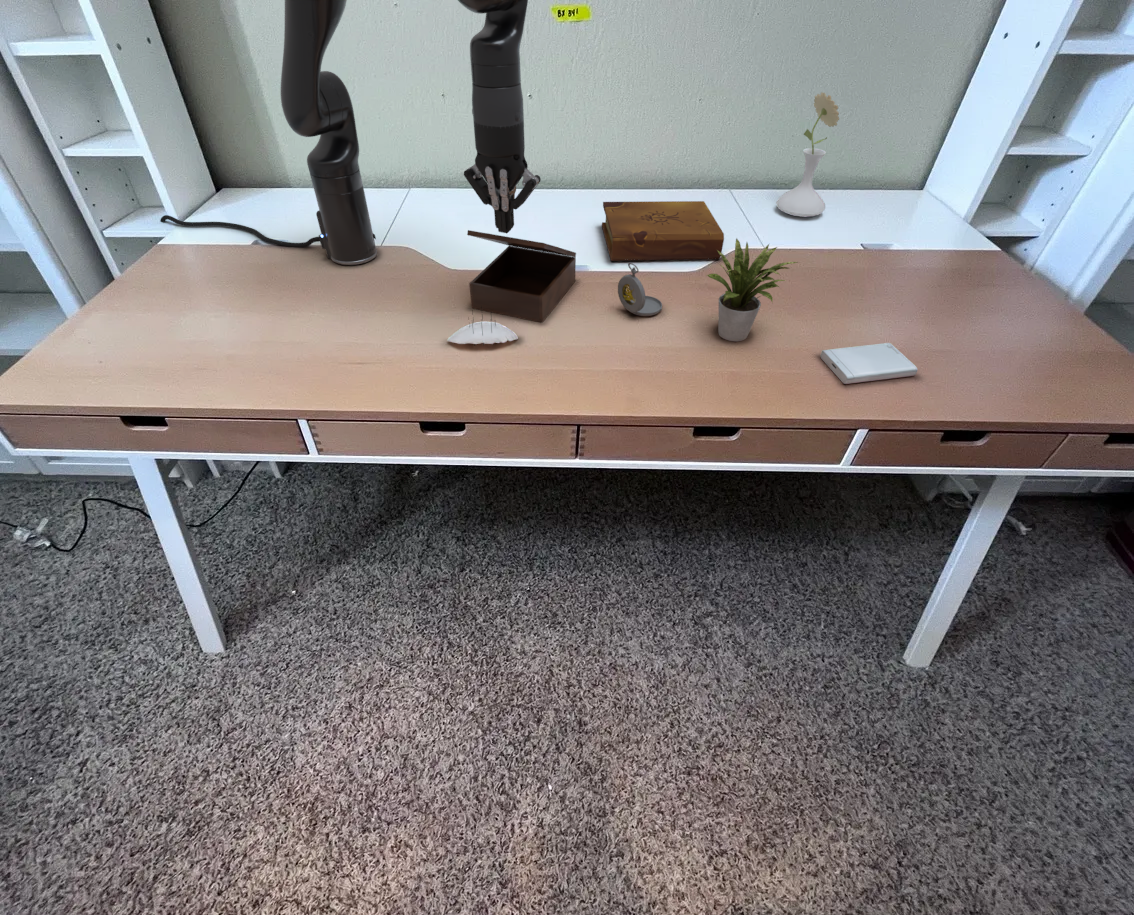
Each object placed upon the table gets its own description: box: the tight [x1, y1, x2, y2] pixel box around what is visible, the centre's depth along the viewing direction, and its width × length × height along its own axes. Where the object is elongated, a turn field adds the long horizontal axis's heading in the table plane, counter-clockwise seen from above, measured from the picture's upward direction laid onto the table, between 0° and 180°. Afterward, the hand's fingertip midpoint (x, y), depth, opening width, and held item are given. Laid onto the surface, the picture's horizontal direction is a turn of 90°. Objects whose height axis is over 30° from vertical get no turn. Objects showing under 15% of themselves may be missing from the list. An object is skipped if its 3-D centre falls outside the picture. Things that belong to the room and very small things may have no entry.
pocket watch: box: [617, 262, 663, 317], centre depth 112 cm, size 8×8×10 cm
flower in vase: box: [775, 91, 840, 218], centre depth 143 cm, size 13×11×25 cm
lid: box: [466, 229, 577, 257], centre depth 114 cm, size 18×14×1 cm
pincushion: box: [446, 306, 519, 347], centre depth 105 cm, size 12×6×6 cm, turn 95°
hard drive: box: [819, 342, 919, 385], centre depth 102 cm, size 2×8×12 cm
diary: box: [601, 200, 725, 262], centre depth 135 cm, size 23×19×6 cm
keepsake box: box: [468, 245, 577, 324], centre depth 118 cm, size 17×14×5 cm
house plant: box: [706, 238, 799, 342], centre depth 103 cm, size 14×14×16 cm
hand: (504, 230), depth 105 cm, fingers closed
